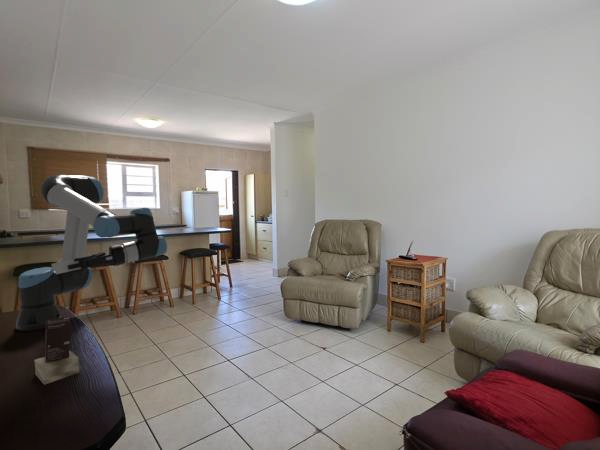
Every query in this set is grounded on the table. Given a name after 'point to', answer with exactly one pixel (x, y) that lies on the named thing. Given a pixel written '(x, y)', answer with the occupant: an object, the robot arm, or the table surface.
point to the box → (57, 339)
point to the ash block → (56, 368)
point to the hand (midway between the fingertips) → (53, 268)
